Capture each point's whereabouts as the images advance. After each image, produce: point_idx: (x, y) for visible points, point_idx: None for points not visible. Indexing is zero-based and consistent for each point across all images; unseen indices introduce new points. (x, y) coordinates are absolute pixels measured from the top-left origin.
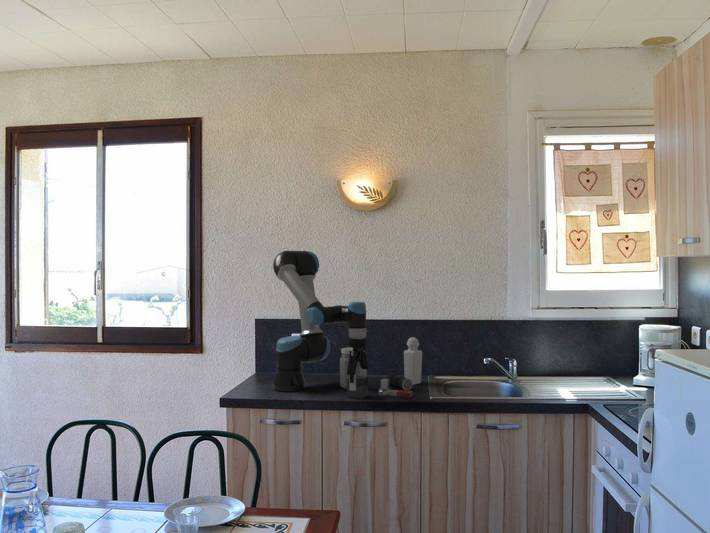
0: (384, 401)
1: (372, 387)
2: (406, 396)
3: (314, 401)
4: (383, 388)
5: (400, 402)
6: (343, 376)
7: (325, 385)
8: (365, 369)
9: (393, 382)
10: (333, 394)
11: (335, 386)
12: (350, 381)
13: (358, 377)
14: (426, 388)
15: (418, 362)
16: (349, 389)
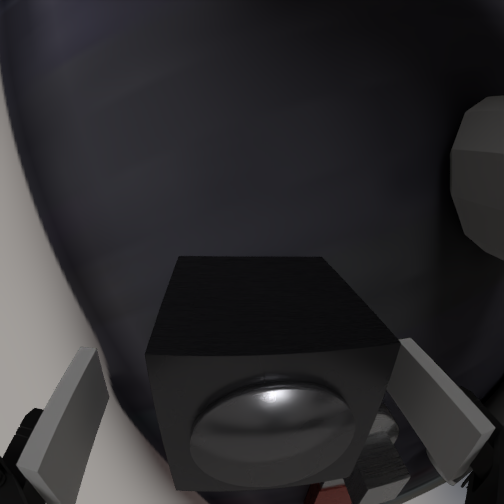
0: None
1: (493, 308)
2: (306, 498)
3: (5, 68)
4: None
5: (210, 501)
6: None
7: (476, 3)
8: (449, 478)
9: (500, 397)
10: (256, 92)
11: (484, 65)
12: (27, 423)
13: (258, 460)
14: None
15: None
16: (78, 351)
